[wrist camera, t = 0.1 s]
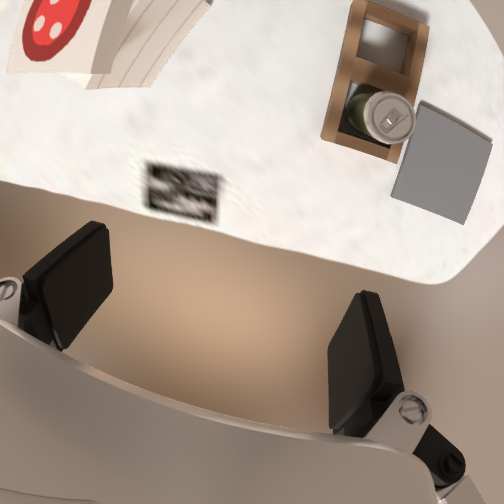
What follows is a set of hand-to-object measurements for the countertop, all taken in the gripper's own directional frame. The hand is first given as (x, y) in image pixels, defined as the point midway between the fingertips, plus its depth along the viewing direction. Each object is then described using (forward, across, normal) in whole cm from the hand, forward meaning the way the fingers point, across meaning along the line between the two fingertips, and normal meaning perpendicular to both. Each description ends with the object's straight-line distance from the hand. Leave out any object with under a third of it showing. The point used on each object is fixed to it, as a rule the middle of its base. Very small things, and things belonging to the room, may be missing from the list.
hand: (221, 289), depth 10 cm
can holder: (+31, -10, -13) cm, 35 cm away
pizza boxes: (+31, +28, -18) cm, 46 cm away
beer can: (+31, -10, -8) cm, 34 cm away
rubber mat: (+31, -24, -5) cm, 39 cm away
